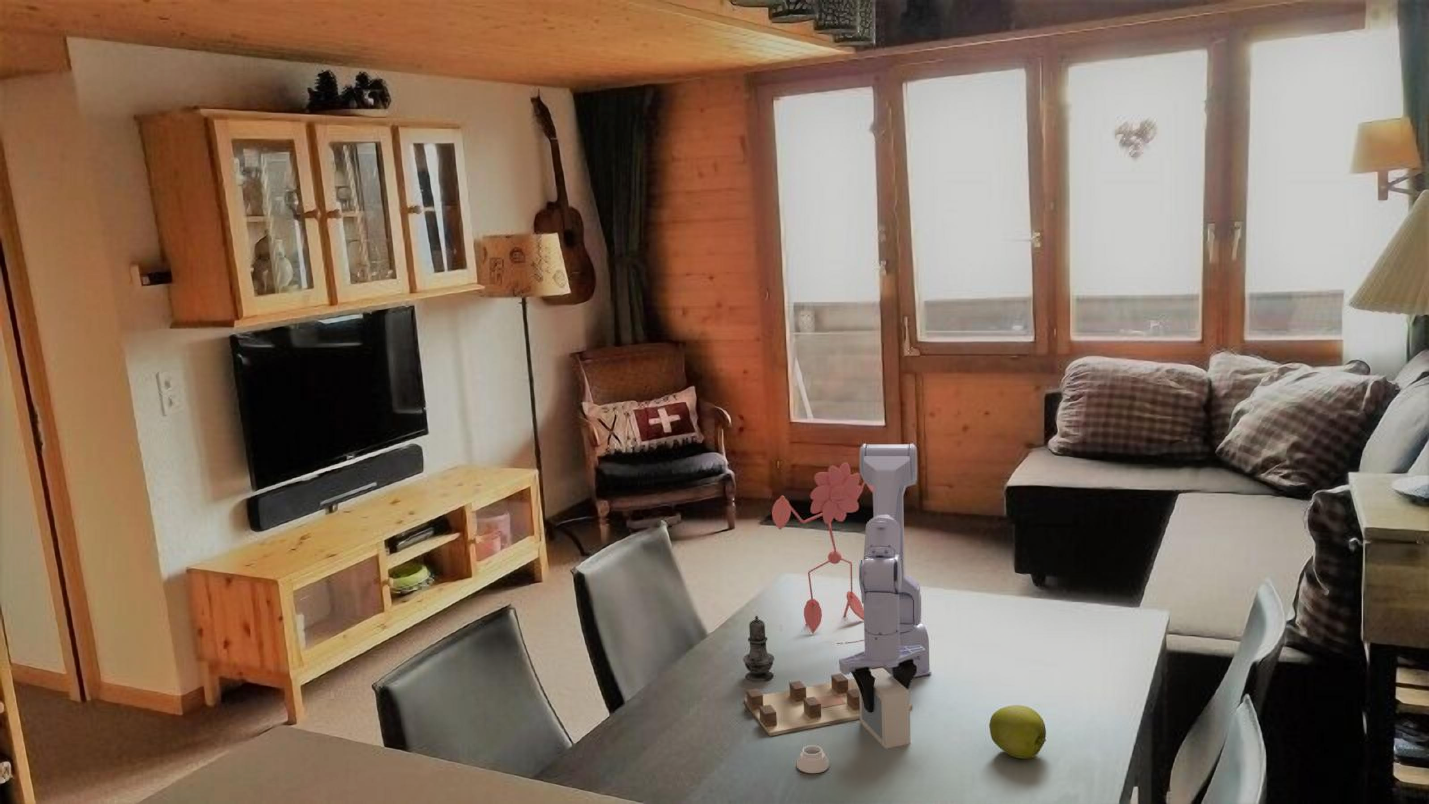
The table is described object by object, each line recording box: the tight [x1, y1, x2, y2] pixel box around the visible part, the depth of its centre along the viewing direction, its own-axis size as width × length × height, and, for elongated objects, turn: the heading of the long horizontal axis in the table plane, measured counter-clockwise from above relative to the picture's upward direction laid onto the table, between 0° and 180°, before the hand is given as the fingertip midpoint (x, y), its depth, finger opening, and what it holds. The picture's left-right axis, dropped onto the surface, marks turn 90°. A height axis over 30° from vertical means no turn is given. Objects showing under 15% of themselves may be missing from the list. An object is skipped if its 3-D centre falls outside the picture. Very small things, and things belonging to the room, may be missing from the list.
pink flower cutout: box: [771, 461, 873, 645], centre depth 222 cm, size 15×26×35 cm, turn 113°
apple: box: [988, 704, 1047, 760], centre depth 170 cm, size 8×9×8 cm
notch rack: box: [743, 666, 913, 737], centre depth 192 cm, size 26×14×3 cm, turn 106°
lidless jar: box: [796, 744, 830, 774], centre depth 171 cm, size 5×3×5 cm
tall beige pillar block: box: [859, 668, 912, 749], centre depth 180 cm, size 5×10×9 cm, turn 16°
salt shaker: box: [742, 615, 775, 683], centre depth 204 cm, size 6×6×12 cm
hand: (884, 707), depth 180 cm, fingers open, 5 cm apart
